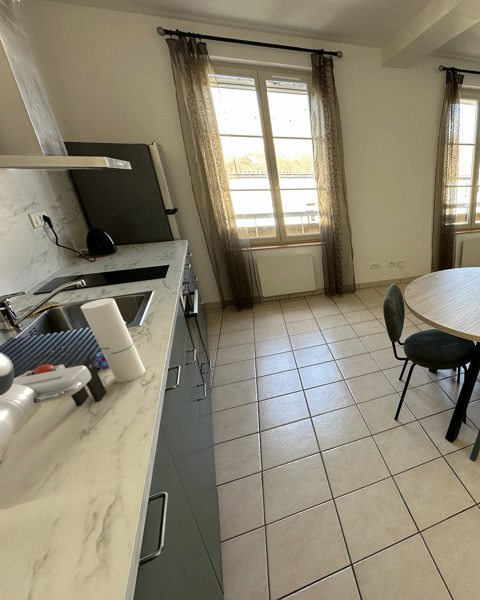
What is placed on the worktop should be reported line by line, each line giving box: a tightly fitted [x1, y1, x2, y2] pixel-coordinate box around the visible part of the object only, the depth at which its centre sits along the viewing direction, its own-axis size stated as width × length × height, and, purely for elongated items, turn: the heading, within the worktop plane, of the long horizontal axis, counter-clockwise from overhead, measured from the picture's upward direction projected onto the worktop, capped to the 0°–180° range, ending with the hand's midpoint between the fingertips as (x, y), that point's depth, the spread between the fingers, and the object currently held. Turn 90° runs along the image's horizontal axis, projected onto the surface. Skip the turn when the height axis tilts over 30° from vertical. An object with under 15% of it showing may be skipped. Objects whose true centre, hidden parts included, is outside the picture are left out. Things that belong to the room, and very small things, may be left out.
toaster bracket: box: [63, 356, 107, 408], centre depth 87 cm, size 12×9×13 cm
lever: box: [34, 363, 79, 375], centre depth 80 cm, size 14×4×4 cm, turn 19°
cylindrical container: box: [80, 297, 146, 383], centre depth 95 cm, size 7×7×25 cm
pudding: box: [94, 350, 110, 370], centre depth 106 cm, size 12×12×5 cm
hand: (47, 370), depth 76 cm, fingers closed on lever, 3 cm apart
